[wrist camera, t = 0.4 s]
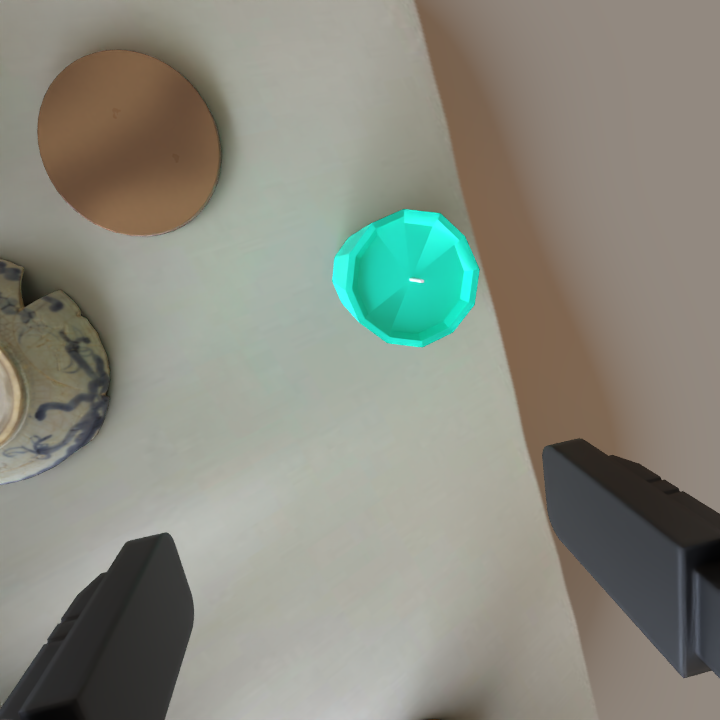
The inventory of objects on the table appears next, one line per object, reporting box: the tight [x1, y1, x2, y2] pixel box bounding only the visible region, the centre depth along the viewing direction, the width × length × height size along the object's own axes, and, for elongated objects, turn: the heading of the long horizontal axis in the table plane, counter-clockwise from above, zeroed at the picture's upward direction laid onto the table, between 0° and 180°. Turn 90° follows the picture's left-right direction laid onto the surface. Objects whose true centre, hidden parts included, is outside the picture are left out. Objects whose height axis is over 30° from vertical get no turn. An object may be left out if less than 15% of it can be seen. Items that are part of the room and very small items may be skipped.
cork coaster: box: [37, 50, 221, 236], centre depth 26 cm, size 10×10×1 cm
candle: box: [332, 209, 480, 347], centre depth 24 cm, size 6×6×12 cm
